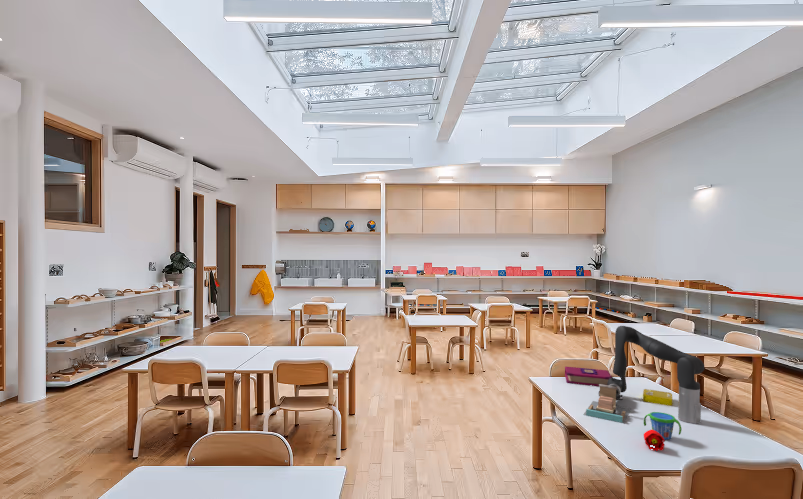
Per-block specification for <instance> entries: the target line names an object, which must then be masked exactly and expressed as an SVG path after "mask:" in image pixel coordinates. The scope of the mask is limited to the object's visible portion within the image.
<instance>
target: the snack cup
mask: <svg viewBox="0 0 803 499" xmlns="http://www.w3.org/2000/svg"><path fill="white" fill-rule="evenodd" d="M647 417H649V420H650V422H651V423H650V425H651V430H655V431H657V432H658V433H659V434H660V435H661V436H662V437H663V438H664V440H671V439H672V435H673V431H674V426H675V423H676V424H677V426H678V436H679V435H681V433H682V431H683V430H682V425H681V423H680V421H679V420H678V419H676V418H675V416H674V415H672V414H669V413H665V412H660V411H653V412H650V413H647V414H645V416H644V419H643V426H644V427H645V426H647V421H646V420H647V419H646V418H647Z"/></svg>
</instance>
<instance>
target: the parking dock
mask: <svg viewBox="0 0 803 499" xmlns="http://www.w3.org/2000/svg"><path fill="white" fill-rule="evenodd" d="M597 406H598V401H595V400H592V402H591V403H590V404H589V406H588V407H587V408H586V410H585V412H584V413H583V416H586V417H592V418H596V419H601V420H604V421H610V422H614V423H618V424H619V423H620V424H624V425H625V424H626V422H627V420H628V417H629V415H630V412H631V410H632V408H631V407H627V406H620V405H617V404H616V408H615V410H616V412H615V413H614V414H610V413H608V412H603V411H602V412H600V411H596V407H597Z"/></svg>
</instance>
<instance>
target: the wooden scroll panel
mask: <svg viewBox="0 0 803 499" xmlns="http://www.w3.org/2000/svg"><path fill="white" fill-rule="evenodd" d="M598 387H599V391H600V396H599V397H598V399H597V400H598V401H597V402H598V406H597V407H596V411H600V412H602V411H603V412H608V413H610V414H614V413H615V412H616V410H615V408H616V405H617V401H616V390H617V387H614V386H608V385H603V384H599V386H598Z"/></svg>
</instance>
